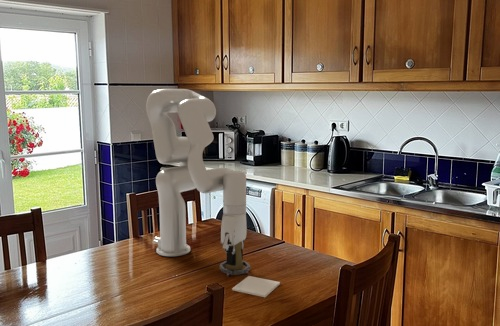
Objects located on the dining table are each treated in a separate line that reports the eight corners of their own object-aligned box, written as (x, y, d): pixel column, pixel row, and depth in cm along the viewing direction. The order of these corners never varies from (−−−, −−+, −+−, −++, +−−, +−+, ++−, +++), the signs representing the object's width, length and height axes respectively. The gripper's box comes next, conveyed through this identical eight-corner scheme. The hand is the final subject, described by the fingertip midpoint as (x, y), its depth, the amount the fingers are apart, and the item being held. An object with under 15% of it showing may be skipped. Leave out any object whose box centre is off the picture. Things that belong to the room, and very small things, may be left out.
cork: (241, 275, 156) (241, 243, 154) (223, 274, 157) (223, 241, 155) (245, 268, 162) (245, 237, 160) (228, 267, 163) (228, 236, 161)
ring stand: (214, 273, 157) (214, 267, 157) (229, 264, 166) (229, 258, 165) (240, 279, 153) (240, 272, 152) (254, 269, 161) (254, 262, 161)
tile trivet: (232, 290, 144) (232, 288, 144) (248, 277, 154) (248, 275, 154) (265, 297, 140) (265, 295, 139) (280, 283, 149) (280, 282, 149)
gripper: (236, 202, 165) (236, 253, 168) (211, 213, 150) (211, 268, 153) (256, 204, 162) (256, 256, 164) (232, 216, 147) (232, 273, 150)
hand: (234, 262), depth 159 cm, fingers closed on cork, 4 cm apart
